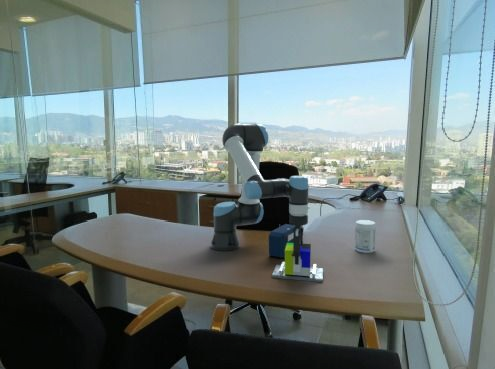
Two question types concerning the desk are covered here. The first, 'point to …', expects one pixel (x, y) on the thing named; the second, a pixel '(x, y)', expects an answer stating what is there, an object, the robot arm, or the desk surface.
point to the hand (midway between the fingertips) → (298, 266)
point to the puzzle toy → (304, 259)
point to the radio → (280, 240)
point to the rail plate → (315, 275)
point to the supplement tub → (365, 236)
